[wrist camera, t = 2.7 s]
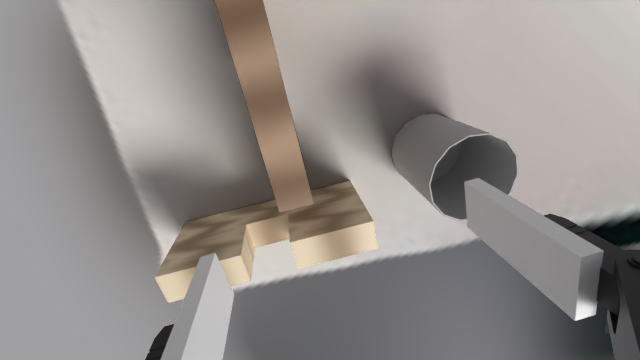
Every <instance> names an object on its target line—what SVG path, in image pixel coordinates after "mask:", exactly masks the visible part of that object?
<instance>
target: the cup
mask: <svg viewBox="0 0 640 360" xmlns="http://www.w3.org/2000/svg"><path fill="white" fill-rule="evenodd" d="M391 154H392V158H393V163H394V167H395V168H396V169H397V170H398V171H399V173H400V174H401V175H402V176H403V177H404V178H405V179H406V180H407V181H408V182H409V183H410V184H411V185H412V186H413V187H414V188H415V189H416V190H417V191H419V192H420V193H421V194H422V195H423V196H424V197H425V198H426V199H427V200H428V201H429V202H430V203H431V204H432V205H433V206H434V207H435V208H436V209H437V210H438V211H439V212H440V213H441V214H442V215H443V216H446V217H449V218H452V219H455V220H459V221H464V220H467V213H466V199H465V186H464V182H465V181H469V180H472V179H476V178H480V179H481V180H483V181H485V182H486V183H488V184H490V185H492V186H493V187H495V188H497V189H499V190H500V191H502V192H504V193H505V194H507V195H510V193H511V192H512V189H513V187H514V184H515V181H516V179H517V176H518V158H517V154H516V152H515V151H514V149H513V148H512V147H511V145H510V144H509V142H508V141H507V140H505V139H503V138H500V137H498V136H496V135H493V134H491V133H488V132H485V131H483V130H480V129H477V128H474V127H472V126H469V125H466V124H463V123H461V122H458V121H455V120H452V119H450V118H447V117H444V116H441V115H439V114H436V113H434V114H424V115H419V116H417V117H415V118H414V119H412V120H410V121H409V122H407V123H405V124H404V126H403V127H402V128H401V130H400V131H399V132H398V134H397V135H396V136H395V139H394V143H393V147H392V152H391Z"/></svg>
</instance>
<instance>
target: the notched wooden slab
mask: <svg viewBox="0 0 640 360" xmlns="http://www.w3.org/2000/svg"><path fill="white" fill-rule="evenodd" d="M310 191H311V195H312V199H313V203H314V204H311V205H307V206H303V207H299V208H295V209H291V210H287V211H283V212H279V209H278V206H277V202H276V199H275V200H271V201H267V202H263V203H259V204H255V205H251V206H247V207H243V208H239V209H235V210H231V211H227V212H223V213H219V214H215V215H211V216H207V217H203V218H199V219H195V220H191V221H187V222H185V224H184V226H183V228H182V229H181V231H180V233H179V235H178V237H177V238H176V240H175V242H174V244H173V246H172V247H171V249H170V251H169V253H168V254H167V256H166V258H165V260H164V262H163V263H162V265H161V267H160V269H159V271H158V272H157V274H156V276H155V279H156V281H157V282H158V284H159V286H160V288H161V290H162V292H163V294H164V296H165V298H166V299H167V301H168V302H173V301H177V300H181V299H184V298H185V295H186V293H187V290H188V288H189V285H190V282H191V280H192V277H193V275H194V272H195V270H196V267H197V264H198V262H199V259H200V257H202V256H205V255H209V254H212V253H216V255H217V257H218V260H219V262H220V264H221V266H222V268H223V271H224V273H225V275H226V277H227V280H228V282H229V284H230V286H235V285H239V284H242V283H246V282H250V281H251V275H252V267H253V259H254V251H255V248H256V247H260V246H264V245H268V244H272V243H275V242H279V241H283V240H287V239H290V245H291V248H292V251H293V255H294V258H295V261H296V264H297V268H298V269H300V268H304V267H308V266H312V265H316V264H319V263H323V262H327V261H331V260H335V259H339V258H342V257H346V256H350V255H354V254H358V253H362V252H366V251H369V250H373V249H377V248H378V245H377V239H376V233H375V227H374V222H373V220H372V218H371V216H370V214H369V213H368V211H367V209H366V207H365V206H364V204H363V202H362V200H361V199H360V197H359V195H358V194H357V192H356V190H355V188H354V187H353V185H352V183H351V181H346V182H342V183H338V184H334V185H330V186H326V187H322V188H318V189H314V190H310Z"/></svg>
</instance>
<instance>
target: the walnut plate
mask: <svg viewBox="0 0 640 360" xmlns="http://www.w3.org/2000/svg"><path fill="white" fill-rule="evenodd" d="M215 3H216V6H217V9H218V13H219V16H220V19H221V22H222V26H223V29H224V32H225V35H226V39H227V42H228V45H229V49H230V52H231V55H232V58H233V62H234V65H235V68H236V71H237V75H238V78H239V81H240V85H241V88H242V91H243V94H244V98H245V101H246V104H247V107H248V111H249V114H250V117H251V121H252V124H253V127H254V130H255V134H256V137H257V140H258V143H259V147H260V150H261V153H262V157H263V160H264V163H265V166H266V170H267V173H268V176H269V179H270V183H271V186H272V189H273V193H274V196H275V199H276V202H277V206H278V209H279V212H283V211H287V210H291V209H295V208H299V207H303V206H307V205H311V204H314V203H313V199H312V195H311V191H310V187H309V182H308V178H307V174H306V170H305V166H304V162H303V158H302V154H301V150H300V146H299V142H298V138H297V134H296V130H295V126H294V122H293V118H292V114H291V110H290V107H289V104H288V100H287V96H286V92H285V88H284V84H283V80H282V76H281V72H280V68H279V63H278V59H277V55H276V51H275V47H274V43H273V39H272V35H271V31H270V27H269V23H268V19H267V15H266V11H265V7H264V3H263V0H215Z"/></svg>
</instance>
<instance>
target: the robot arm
mask: <svg viewBox="0 0 640 360" xmlns="http://www.w3.org/2000/svg"><path fill="white" fill-rule="evenodd" d="M464 186H465V199H466V213H467V227H468V228H469V229H471V230H472V231H473V232H474V233H475V234H476V235H477V236H479V237H480V238H481V239H482V240H483V241H484V242H485V243H487V244H488V245H489V246H490V247H491V248H492V249H493V250H495V251H496V252H497V253H498V254H499V255H500V256H501V257H503V258H504V259H505V260H506V261H507V262H509V263H510V264H511V265H512V266H513V267H514V268H515V269H516V270H517V271H519V272H520V273H521V274H522V275H523V276H524V277H526V278H527V279H528V280H529V281H530V282H531V283H532V284H534V285H535V286H536V287H537V288H538V289H539V290H540V291H542V292H543V293H544V294H545V295H546V296H547V297H548V298H550V299H551V300H552V301H553V302H554V303H555V304H556V305H558V306H559V307H560V308H561V309H562V310H563V311H564V312H566V313H567V314H568V315H569V316H570V317H572V319H574V320H575V321H576V320H579V319H583V318H586V317H589V316H592V315H596V308H597V301H598V302H599V303H601V304H602V305H603V306H605V307H606V308H607V309H608V314H607V320H606V328H605V333H607V334H609V332H610V335H611V341H612V346H613V351H614V357H615V360H640V250H625V251H624V250H622V249H621V248H619V247H617V246H615V245H613V244H611V243H610V242H608V241H606V240H604V239H602V238H601V237H599V236H597V235H595V234H593V233H591V232H590V231H589V232H588V231H587V230H586V229H584V228H582V227H580V226H577V224H575V223H573V222H571V221H569V220H568V219H566V218H563V217H559V216H556V215H553V214H548V215H544V216H543V215H541V214H540V213H538V212H536V211H535V210H533V209H531V208H529V207H528V206H526V205H524V204H523V203H521V202H519V201H517V200H516V199H514V198H512V197H511V196H509V195H507V194H505V193H504V192H502V191H500V190H499V189H497V188H495V187H493V186H492V185H490V184H488V183H486V182H485V181H483V180H481V179H480V178H476V179H472V180H469V181H465V182H464ZM233 298H234V293H233V291H232V288H231V286H230V284H229V282H228V280H227V277H226V275H225V273H224V271H223V268H222V266H221V264H220V262H219V260H218V257H217V255H216V253H212V254H209V255H205V256H202V257H200V259H199V262H198V264H197V267H196V270H195V272H194V275H193V277H192V280H191V282H190V285H189V288H188V290H187V293H186V295H185V298H184V301H183V303H182V306H181V308H180V311H179V313H178V316H177V319H176V321H175V324H172V325H169V326H165V327H164V328H163V329H162V330H161V331H160V333H159V334H158V335H157V336H156V338H155V339H154V341H153V344H152V346H151V348H150V350H149V351H150V352H149V353H148V355H147V357H146V359H145V360H222V359H223V353H224V348H225V342H226V337H227V331H228V326H229V320H230V315H231V309H232V304H233Z"/></svg>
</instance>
